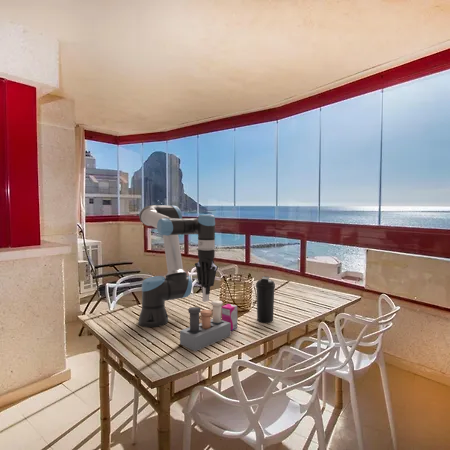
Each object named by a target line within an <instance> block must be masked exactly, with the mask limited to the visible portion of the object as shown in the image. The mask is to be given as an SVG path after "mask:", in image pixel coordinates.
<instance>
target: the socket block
mask: <svg viewBox="0 0 450 450" xmlns="http://www.w3.org/2000/svg"><path fill="white" fill-rule="evenodd" d="M231 332H232V331H231V323H229V322H226V321H224V320H222V319H221V322H220V323H214V322H213V318H211V328H209V329H206V330H205V329H203V328H202V322H199V331H197V332H192V331H190V326H189V327H185V328H183V329H181V330H179V345H182V346H183V347H185V348H188V349H189V350H191V351H194V352H198V351H199V350H202V349H204V348H206V347H208V346H211V345H213V344H215V343H217V342H219V341H222V340H224V339H226V338H228V337H230V336H232V335H231Z"/></svg>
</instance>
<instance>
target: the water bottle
mask: <svg viewBox="0 0 450 450" xmlns="http://www.w3.org/2000/svg"><path fill="white" fill-rule="evenodd" d="M255 288H256V317H257V318H256V319H257V321H258V322H259V323H262V324H268V323H269V324H271V323H272V321H273V322H274V311H275V309H274V304H275V288H276V284H275V282H274V280H272V279H271V276H265V275H263V276H261V279H258V280H257V281H256V282H255Z"/></svg>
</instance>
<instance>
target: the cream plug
mask: <svg viewBox="0 0 450 450" xmlns="http://www.w3.org/2000/svg"><path fill="white" fill-rule="evenodd" d="M211 306H212V319H213V322H214V323H220V322H221V320H222V306H224V305H223V301H222V300H212V301H211Z"/></svg>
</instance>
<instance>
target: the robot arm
mask: <svg viewBox="0 0 450 450" xmlns="http://www.w3.org/2000/svg"><path fill="white" fill-rule="evenodd" d="M215 217H216V216H215V215H214V214H199V215H198V218H197V217H191V218H183V214H182V211H181V209H180V208H179V206H176V205H173V204H171V205H170V204H169V205H167V204H166V205H165V204H164V205H162V204H161V205H160V204H151V205H147V206H144V207H143V208H142V209H141V210H140V212H139V220H140V222H141V223H142V224H144V225H145V226H146V227H147V226H148V227H153V228H155V229H157V232H158V234H159V235H160V236H162V238H163V246H164V253H165V262H166V270H167V273H166V274H165V277H164V275H155V276H149V277H147V278H145V279H144V280H142V282H141V289H140V290H141V311H140V313H139V316H138V325H139V326H140V327H144V328H155V327H161V326H164V325H166V324H167V323H169V315H168V313H167V310H166V307H165V306H166V304H165V303H166V301H172V300H177V299H179V300H180V299H184V298H187V297H189V296H191V293H192V288H193V280H192V277H191V276H190V275H188V274H187V271H185V270H184V267H183V266H184V265H183V259H182V253H181V246H180V238H179V236H182V235H183V236H185V235H188V236H189V235H197V248H198V250H197V258H198V262H195V263H194V266H195V269H196V274H197V275H196V276H197V282H198V285H200V286H201V294H202V297H201V298H202V302H204V303H205V302H209V301H210V294H211V287H214V286H215V285H214V284H215V279H216V274H217V271H218V269H219V266H218V265H216V264H215V262H214V259H215V257H216V256H215V255H216V251H215V248H216V241H215V238H216V218H215Z"/></svg>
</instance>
